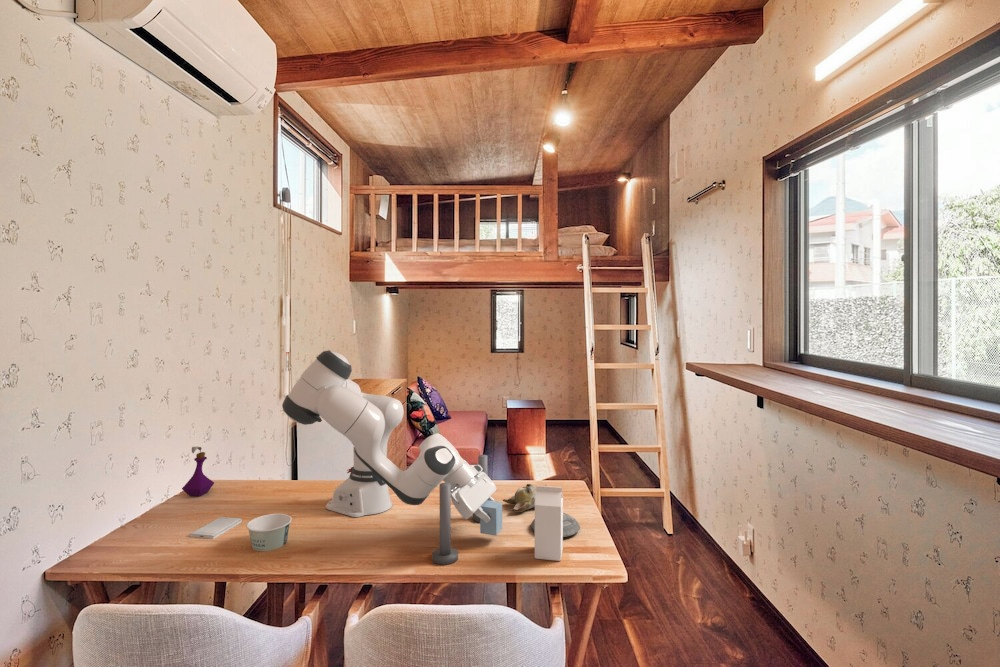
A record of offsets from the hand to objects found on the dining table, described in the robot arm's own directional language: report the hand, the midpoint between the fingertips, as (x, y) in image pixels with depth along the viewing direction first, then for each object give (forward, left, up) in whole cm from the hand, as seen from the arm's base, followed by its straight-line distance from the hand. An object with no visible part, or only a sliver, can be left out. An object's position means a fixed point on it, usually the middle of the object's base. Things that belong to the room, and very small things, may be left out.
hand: (493, 516), depth 147 cm
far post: (-9, +14, -7) cm, 18 cm away
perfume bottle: (-116, -1, -8) cm, 116 cm away
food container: (-61, -23, -8) cm, 65 cm away
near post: (-9, -14, -7) cm, 18 cm away
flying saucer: (+15, +14, -8) cm, 22 cm away
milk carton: (+17, -2, -8) cm, 19 cm away
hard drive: (-84, -21, -8) cm, 87 cm away
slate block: (-1, 0, -4) cm, 4 cm away
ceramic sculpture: (+2, +27, -8) cm, 28 cm away
